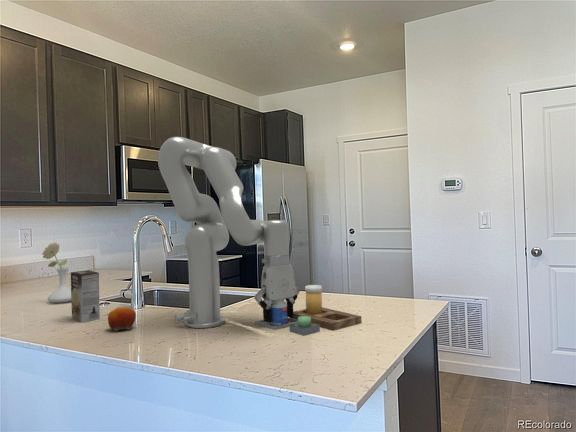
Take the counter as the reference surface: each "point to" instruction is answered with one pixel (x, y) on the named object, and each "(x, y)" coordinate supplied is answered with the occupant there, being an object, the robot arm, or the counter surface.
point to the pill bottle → (278, 312)
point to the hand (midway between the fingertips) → (278, 319)
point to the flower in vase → (63, 291)
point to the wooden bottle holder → (330, 318)
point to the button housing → (304, 328)
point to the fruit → (121, 318)
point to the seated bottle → (313, 299)
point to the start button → (304, 321)
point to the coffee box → (85, 295)
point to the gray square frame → (277, 326)
